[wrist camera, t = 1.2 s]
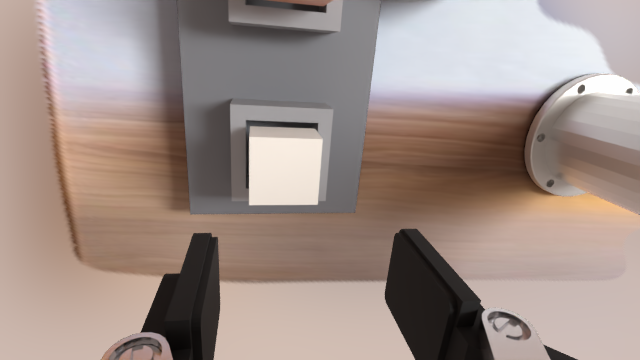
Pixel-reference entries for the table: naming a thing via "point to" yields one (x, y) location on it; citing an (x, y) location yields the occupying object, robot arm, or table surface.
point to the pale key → (284, 166)
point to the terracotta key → (306, 2)
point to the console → (274, 93)
